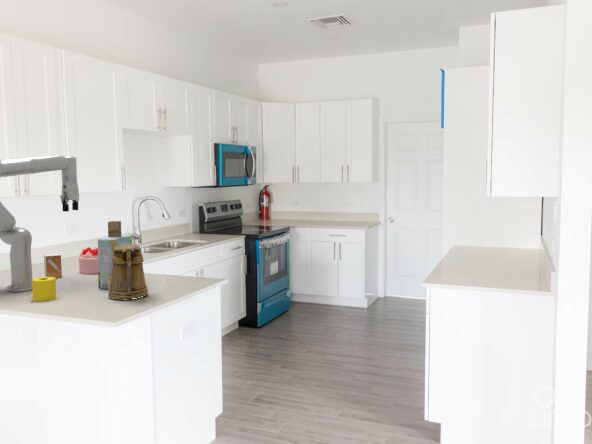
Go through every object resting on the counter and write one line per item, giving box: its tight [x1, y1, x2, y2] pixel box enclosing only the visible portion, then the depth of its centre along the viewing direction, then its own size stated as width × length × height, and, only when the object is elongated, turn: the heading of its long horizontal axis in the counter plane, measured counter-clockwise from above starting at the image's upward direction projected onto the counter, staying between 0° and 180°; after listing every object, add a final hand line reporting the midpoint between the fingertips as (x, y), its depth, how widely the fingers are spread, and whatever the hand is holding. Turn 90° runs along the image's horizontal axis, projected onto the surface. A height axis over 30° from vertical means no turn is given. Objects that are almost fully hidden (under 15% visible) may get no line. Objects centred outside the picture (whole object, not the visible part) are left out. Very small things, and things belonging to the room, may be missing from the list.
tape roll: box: [32, 276, 57, 302], centre depth 250 cm, size 10×10×9 cm
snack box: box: [97, 234, 133, 290], centre depth 278 cm, size 22×9×26 cm, turn 169°
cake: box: [78, 246, 98, 275], centre depth 317 cm, size 20×20×14 cm
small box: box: [43, 253, 63, 279], centre depth 299 cm, size 8×6×13 cm
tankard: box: [108, 243, 149, 301], centre depth 251 cm, size 18×24×25 cm
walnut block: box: [107, 220, 122, 237], centre depth 277 cm, size 5×5×8 cm
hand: (70, 210), depth 288 cm, fingers open, 9 cm apart
